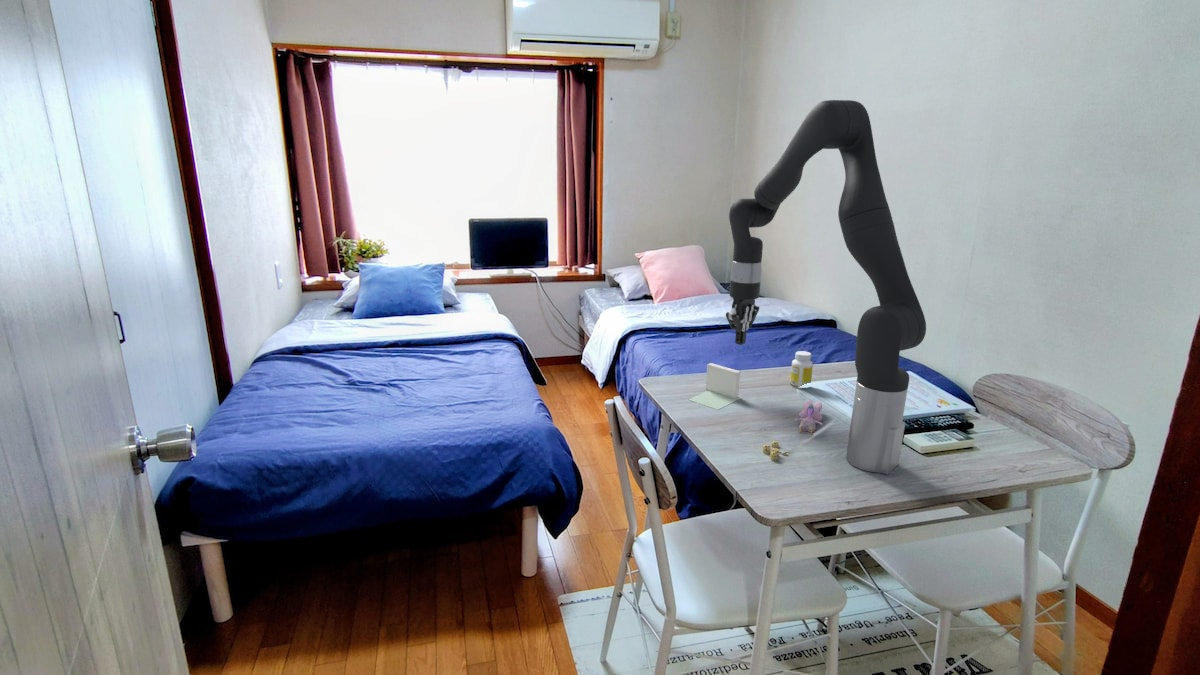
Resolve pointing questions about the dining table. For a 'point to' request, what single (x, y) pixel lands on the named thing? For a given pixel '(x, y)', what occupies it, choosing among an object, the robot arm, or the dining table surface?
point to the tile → (723, 380)
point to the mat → (713, 399)
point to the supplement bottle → (801, 369)
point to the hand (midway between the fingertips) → (740, 343)
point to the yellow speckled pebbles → (773, 450)
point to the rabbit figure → (810, 416)
